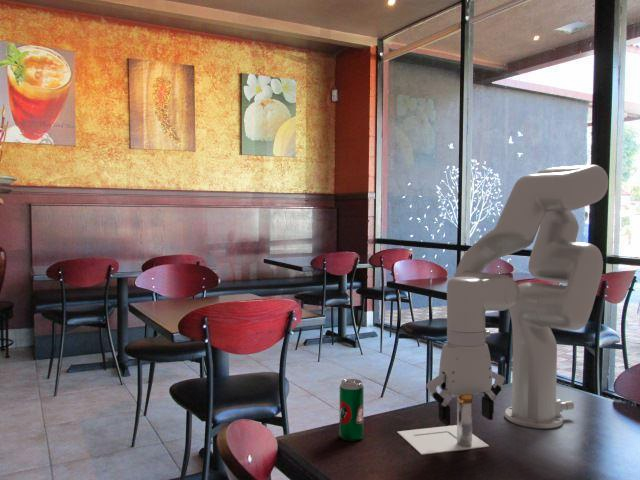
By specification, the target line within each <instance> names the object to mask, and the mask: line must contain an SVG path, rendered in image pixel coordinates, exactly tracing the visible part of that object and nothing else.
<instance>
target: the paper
mask: <svg viewBox="0 0 640 480" xmlns="http://www.w3.org/2000/svg"><path fill="white" fill-rule="evenodd" d="M397 434H398V435H399V436H401V437H402V438H403V439H404V440H405V441H406V442H407V443H408V444H409V445H410V446H412V448H414V449H415V450H416V451H417V452H418V454H419V455H421V456H425V455H432V454H433V455H434V454H440V453H449V452H455V451H456V452H457V451H466V450H473V449H480V448H489V447H490V445H489V444H487V443H486V442H484V441H483V440H482V439H481V438H479V437H478V436H476V435H475V434H473V433H472V446H471V447H461V446H459V445H457V424H454V425H449V426H446V425H445V426H436V427H427V428H415V429H409V430H401V431H397Z"/></svg>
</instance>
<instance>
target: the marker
mask: <svg viewBox="0 0 640 480" xmlns="http://www.w3.org/2000/svg"><path fill="white" fill-rule="evenodd" d="M473 395H474V394H469V395H461V396H456V405H457V406H456V407H457V408H456V425H457V445H459V446H461V447H471V446H472V434H473V402H474V401H473V397H474V396H473Z"/></svg>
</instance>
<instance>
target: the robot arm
mask: <svg viewBox="0 0 640 480" xmlns="http://www.w3.org/2000/svg"><path fill="white" fill-rule="evenodd" d="M609 183H610V182H609V177H608V173H607V171H606V170H605V169H604V168H603V167H601V166H600V165H598V164H585V165H584V164H583V165H582V164H581V165H571V166H566V165H565V166H556V167H555V166H554V167H548V168H545V169H544V168H543V169H541V170H539V171H537V172H536V173H531V174H526V175H523V176H521V177H520V178H518V180H517V181H516V182H515V184H514V185H513V187H512V189H511V191H510V194H509V196H508V197H507V200H506V203H505V204H504V207H503V210H502V212H501V214H500V216H499V218H498V221H497V223H496V225H495V227H493V229H492V230H490V231H489V232H487V233H486V234H484V235H482V237H480V238H479V239H478V240H477V241H476V242H475V243H474V244H472V245H471V246H470V247H469V248H468V249H467V250H466V252H465V253H464V254H463V255H462V257H461V259H460V261H459V263H458V265H457V267H456V269H455V273H454V275H453V276H452V277H451V278H450V279H449V280H448V281H447V282H446V283H447V284H446V343H443V344H442V349H441V354H440V360H439V367H438V368H439V370H438V375H437V376H436V377H434V378H433V379H431V380H430V381H428V382H427V383H426V385H425V387H426V388H427V390H428V392H429V394H430V396H431V398H433V399H434V400H435V402H437V404H438V419H439V421H440V422H441V423H442V424H444V425H445V426H451V406H450V405H449V403H450V401H451V400H452V399H453V397H457V396H461V395H469V394H473V395H477V394H482V395H483V396H481V415H482V417H484V418H486V419H487V420H489V421H493V420H494V413H495V411H494V408H495V407H494V405H495V404H494V403H495V401H496V400H497V396H498V395H499V393H500V392H501V391H502V387H503V384H504V383H505V381H506V377H504V375H501V374H499V373H497V372H494V371H493V370H492V361H491V360H492V359H491V353H490V349H489V345H488V343H486V342H487V338H489V337H490V336H491V332H490V330H487V329H486V312H488V311H490V312H491V311H493V312H501V311H506V310H507V311H508V310H509V315H510V320H511V327H512V369H511V370H512V372H511V373H512V383H511V385H512V386H511V390H512V391H511V393H512V394H511V406H509V407H507V408H506V409H505V411H504V416H505V419H507V420H508V421H509V422H511V423H512V424H515V425H519V426H523V427H525V428H530V429H531V428H532V429H542V430H543V429H553V428H558V427H560V426H562V425H563V424H564V416H563V415H562V414H561V413H562V412H563V411H571V410H574V409H575V404H574V402H573V401H572V400H567V401H562V400H561V399H560V398H559V399H558V398H557V376H558V372H557V370H558V367H557V366H558V365H557V364H558V344H557V340H556V337H555V335H554V334H553V333H554V332H553V331H552V328H553V329H559V330H564V331H579V330H582V329H583V328H584V327H585V326H586V325H587V324H588V321H589V319H590V316H591V313H592V311H593V307H594V304H595V300H596V297H597V293H598V291H599V290H598V289H599V287H600V284H601V279H602V275H603V270H604V260H603V255H602V252H601V250H600V249H599V248H598V246H596V245H594V244H592V243H590V242H585V241H584V242H582V241H576V240H577V237H578V234H579V229H580V228H579V227H580V226H579V223H578V220H577V218H576V216H575V214H574V213H573V212H572V211H574V210H575V211H576V210H580V209H581V208H582V209H583V208H585V207H588V206H590V205H593V204H595V203H597V202H599V201H601V200H602V199H603V198H604V197H605V195H606V194H607V192H608V189H609ZM535 238H536V239H535ZM534 240H535V241H534ZM533 242H534V244H533ZM532 244H533V247H532V250H531V252H530V256H529V260H528V265H527V266H528V272H529V273H530V275H531V276H532V277H533V278H535V279H537V280H539V281H544V282H549V283H544V282H543V283H542V282H533V281H532V282H531V281H528V282H522V283H519V284H518V283H517V281H515V280H514V278H512V277H510V276H508V275H505V274H504V275H503V274H498V273H489V272H484V271H485V270H486V269H487V268H488V267H489V266H490V265H491V264H492V263H494V262H496V261H498V260H500V259H501V258H504V257H505V256H508V255H512V254H514V253H517V252H519V251H520V252H521V251H522V250H524V249H527V248H528V247H530V246H531V245H532ZM550 282H551V283H550ZM552 283H560V284H561V283H562V284H566V285H562V284H561V285H559V284H552ZM493 380H494V383H493ZM438 387H439V389H440V390H441V391H440V392H438V390H437V388H438Z"/></svg>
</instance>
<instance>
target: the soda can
mask: <svg viewBox="0 0 640 480" xmlns="http://www.w3.org/2000/svg"><path fill="white" fill-rule="evenodd" d="M364 391H365V390H364V385H363V382H362V380H360V379H356V378H344V379H342V380H341V383H340V385H339V437H340V438H341V439H342V440H343V441H346V442H347V441H348V442H356V441H359V440H362V438H363V437H364V407H365V406H364V403H365V402H364V396H365V395H364Z"/></svg>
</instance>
